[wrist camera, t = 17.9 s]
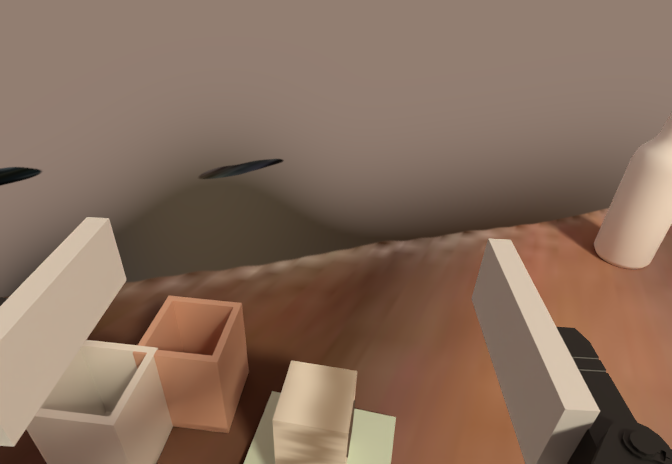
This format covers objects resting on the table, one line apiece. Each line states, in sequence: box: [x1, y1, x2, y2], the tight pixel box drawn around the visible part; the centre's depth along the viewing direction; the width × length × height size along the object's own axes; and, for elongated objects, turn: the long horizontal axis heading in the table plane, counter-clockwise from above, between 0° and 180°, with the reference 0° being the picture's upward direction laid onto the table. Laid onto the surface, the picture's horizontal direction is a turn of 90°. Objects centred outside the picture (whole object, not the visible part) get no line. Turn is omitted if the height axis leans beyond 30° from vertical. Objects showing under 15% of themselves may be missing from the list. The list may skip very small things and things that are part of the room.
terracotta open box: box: [133, 296, 249, 433], centre depth 47 cm, size 8×8×11 cm
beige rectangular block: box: [272, 361, 357, 464], centre depth 40 cm, size 6×6×11 cm
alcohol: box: [594, 112, 672, 269], centre depth 68 cm, size 9×9×30 cm
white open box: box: [26, 340, 173, 464], centre depth 41 cm, size 8×8×11 cm
